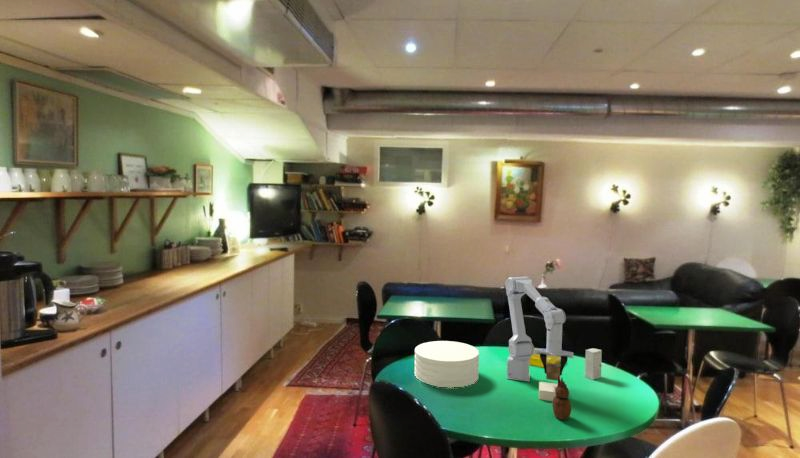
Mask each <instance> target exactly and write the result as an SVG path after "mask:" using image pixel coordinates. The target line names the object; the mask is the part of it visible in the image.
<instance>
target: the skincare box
mask: <svg viewBox="0 0 800 458" xmlns="http://www.w3.org/2000/svg"><path fill="white" fill-rule="evenodd" d="M602 351H603V350H602V349H598V348H594V347H593V348H588V349H585V355H584V356H585V357H584V358H585V359H584V361H585V362H584V366H585V367H584V378H587V379H589V380H596V379H600V378H602V353H603V352H602Z"/></svg>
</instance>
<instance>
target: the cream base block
mask: <svg viewBox="0 0 800 458" xmlns="http://www.w3.org/2000/svg"><path fill="white" fill-rule="evenodd" d="M557 386H558V383H555V382H545V381H539V382H538V400H539V401H540V400H541V401H549V402H553V398H554V397H555V396H556V394H555V390H556V387H557Z"/></svg>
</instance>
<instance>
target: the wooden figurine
mask: <svg viewBox="0 0 800 458" xmlns="http://www.w3.org/2000/svg"><path fill="white" fill-rule="evenodd" d="M557 384H558V386H557V387H556V390H555V394H556V396H555V397H554V398H553V401H551V403H552V405H551V406H552V410H553V415H554V417H555V418H557V419H558V420H560V421H561V420H563V421H564V420H568V419H569V417H570V415H571V414H572V404H571V401H570V399H569V396H570V390H569V388H568V387H567V384H566V383H565V380H563V377H562V376H561V375H560V376H559V375H558V381H557Z"/></svg>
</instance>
